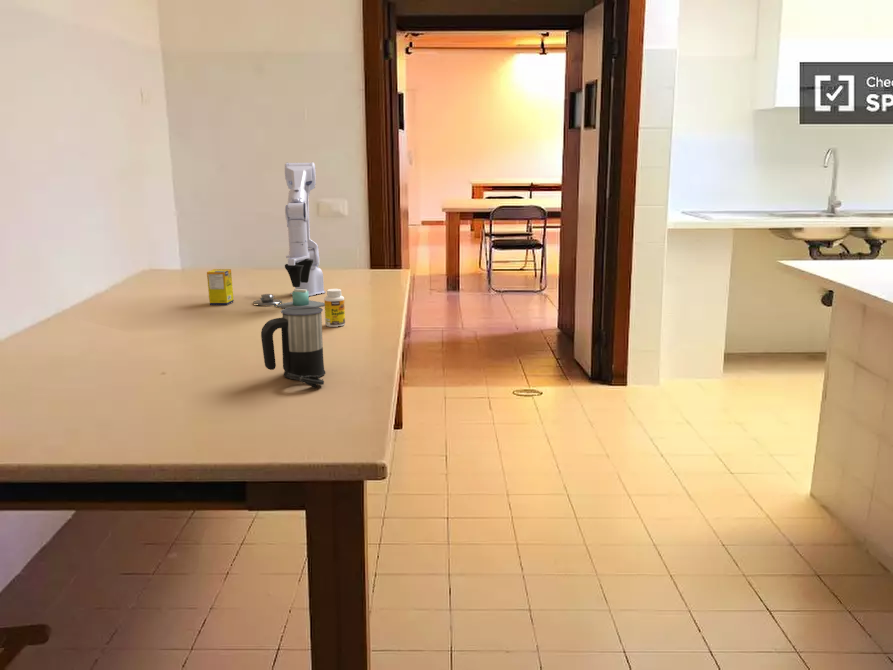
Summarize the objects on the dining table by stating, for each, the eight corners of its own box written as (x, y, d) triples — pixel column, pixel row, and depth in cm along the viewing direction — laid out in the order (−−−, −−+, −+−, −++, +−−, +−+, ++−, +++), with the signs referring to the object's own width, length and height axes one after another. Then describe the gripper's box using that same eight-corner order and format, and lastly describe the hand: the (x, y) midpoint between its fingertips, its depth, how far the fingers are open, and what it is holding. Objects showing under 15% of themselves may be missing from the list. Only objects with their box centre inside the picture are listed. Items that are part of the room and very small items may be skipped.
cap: (311, 302, 255) (310, 288, 253) (305, 306, 250) (304, 291, 249) (296, 302, 256) (296, 287, 254) (290, 305, 251) (289, 290, 250)
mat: (303, 300, 261) (303, 299, 261) (328, 305, 254) (328, 303, 253) (274, 306, 252) (274, 305, 252) (299, 311, 245) (299, 309, 244)
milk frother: (307, 366, 184) (304, 303, 181) (355, 378, 174) (352, 312, 171) (257, 381, 174) (252, 314, 170) (304, 394, 164) (300, 324, 160)
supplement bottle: (330, 328, 221) (329, 292, 219) (322, 325, 226) (320, 289, 224) (348, 325, 224) (347, 290, 222) (340, 322, 229) (338, 287, 227)
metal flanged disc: (269, 299, 263) (269, 291, 263) (287, 302, 258) (287, 294, 257) (247, 304, 257) (246, 295, 256) (265, 307, 251) (264, 298, 250)
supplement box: (234, 301, 261) (231, 268, 258) (227, 305, 255) (224, 271, 252) (216, 301, 261) (213, 268, 259) (209, 305, 255) (206, 271, 253)
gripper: (293, 238, 256) (296, 280, 259) (277, 244, 242) (280, 288, 245) (315, 238, 254) (317, 280, 258) (299, 244, 241) (302, 289, 244)
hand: (300, 284), depth 251 cm, fingers open, 7 cm apart
